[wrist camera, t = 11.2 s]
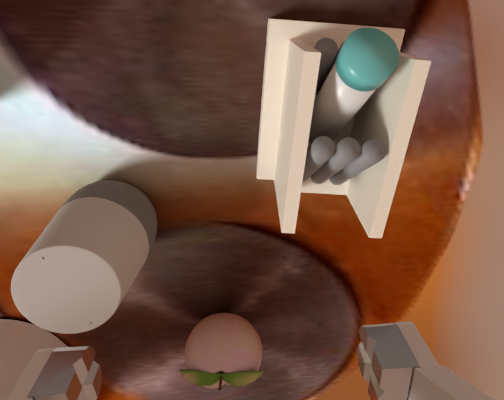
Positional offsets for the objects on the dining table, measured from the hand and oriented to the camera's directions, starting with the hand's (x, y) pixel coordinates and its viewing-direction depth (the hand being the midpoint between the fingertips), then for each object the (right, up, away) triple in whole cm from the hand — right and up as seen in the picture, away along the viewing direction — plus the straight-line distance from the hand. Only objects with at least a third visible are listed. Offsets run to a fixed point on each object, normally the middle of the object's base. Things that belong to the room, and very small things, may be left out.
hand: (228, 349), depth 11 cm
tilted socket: (+7, +14, +23) cm, 28 cm away
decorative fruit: (-3, -10, +36) cm, 38 cm away
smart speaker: (-14, +3, +29) cm, 32 cm away
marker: (+7, +11, +21) cm, 25 cm away
